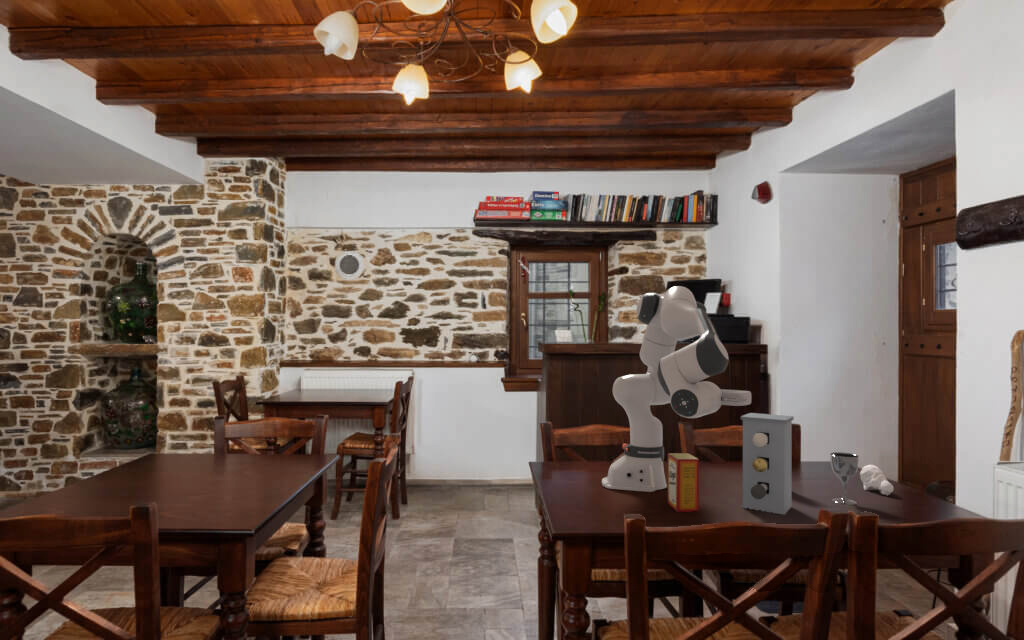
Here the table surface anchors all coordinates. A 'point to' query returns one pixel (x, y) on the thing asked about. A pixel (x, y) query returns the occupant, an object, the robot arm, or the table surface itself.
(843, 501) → the wine glass
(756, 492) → the plunger low
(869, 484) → the white lumpy piece
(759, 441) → the plunger top
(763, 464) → the plunger mid
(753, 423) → the grey toy cabinet
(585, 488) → the table surface
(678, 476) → the baking soda box
